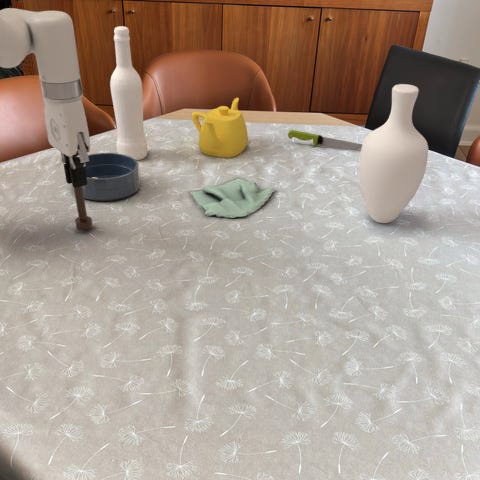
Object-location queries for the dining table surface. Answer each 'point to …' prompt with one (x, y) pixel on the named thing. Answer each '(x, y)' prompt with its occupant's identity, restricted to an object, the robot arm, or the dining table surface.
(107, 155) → the bowl
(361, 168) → the vase
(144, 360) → the dining table surface
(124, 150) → the bottle
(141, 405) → the dining table surface
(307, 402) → the dining table surface
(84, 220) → the muddler
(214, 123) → the teapot
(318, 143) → the kitchen knife
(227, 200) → the cloth
